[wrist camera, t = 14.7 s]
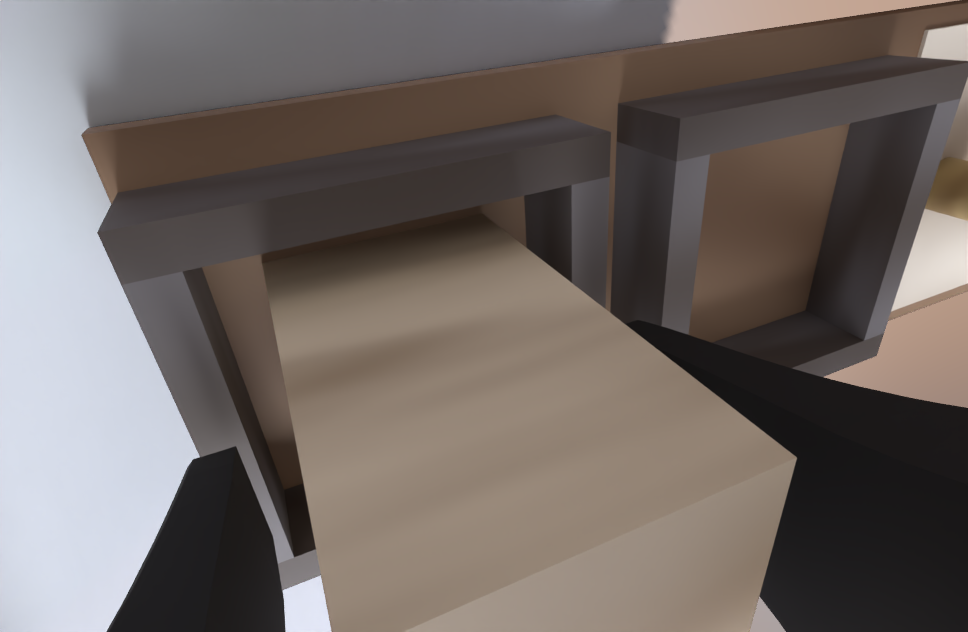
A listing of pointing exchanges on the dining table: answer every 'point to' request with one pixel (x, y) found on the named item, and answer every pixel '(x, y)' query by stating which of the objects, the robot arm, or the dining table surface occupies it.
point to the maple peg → (510, 448)
